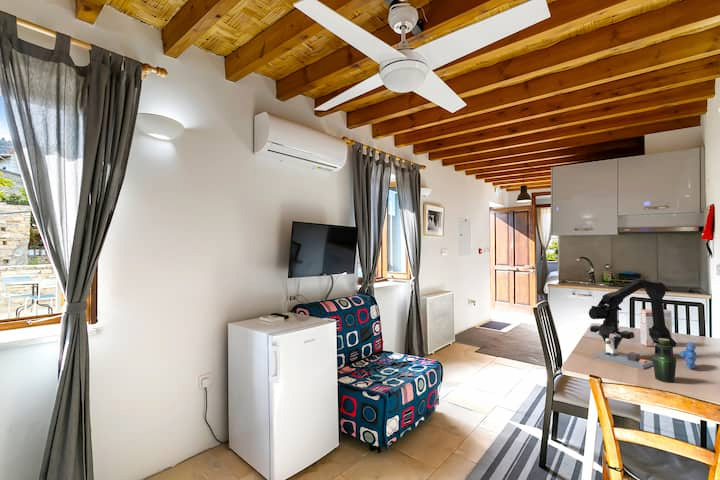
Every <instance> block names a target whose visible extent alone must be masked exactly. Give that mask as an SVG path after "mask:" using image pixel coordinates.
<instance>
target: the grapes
mask: <svg viewBox="0 0 720 480" xmlns="http://www.w3.org/2000/svg"><path fill="white" fill-rule="evenodd" d="M696 348H697V347H696V345H695V344H694V343H693V342H688V343H687V344H686V347H685V350H682V351H680V352H679V353H678V355H679V356H680V357H681V358H684V359H685V362H686V364H685V365H686V366H687V368H688V369H691V370H692V369H694V368H696V367H697V364H696V361H697V358H698V357H699V356H698V354H697V353H696V351H695V350H696Z"/></svg>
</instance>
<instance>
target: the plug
mask: <svg viewBox="0 0 720 480" xmlns="http://www.w3.org/2000/svg"><path fill="white" fill-rule="evenodd" d="M618 347H619V346H618ZM618 347H617V349H615V339H614V337H611V336H609V338H606V344H605V350H606V352H608V353H613V354H614V353H619V352H618Z"/></svg>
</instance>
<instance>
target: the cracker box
mask: <svg viewBox="0 0 720 480" xmlns="http://www.w3.org/2000/svg"><path fill="white" fill-rule="evenodd" d="M663 309H664V308H663ZM664 318H665V326H666V327H667V329H668V330H669V331H670V335H671V338H672V339H673V325H672V324H673V323H672V322H673V321H672V320H673V319H672V310H669V309H664ZM652 326H653V318H652V309H650V308H649V309H639V333H640V334H639V337H640V345H641V346H645V347H649V348H651V347H653V348H655V346H656V343H654V342H653V340H652V338H651V337H650V336H649V328H652Z"/></svg>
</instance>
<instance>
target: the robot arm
mask: <svg viewBox="0 0 720 480" xmlns="http://www.w3.org/2000/svg"><path fill="white" fill-rule="evenodd" d="M641 289H645V293H646V294H647V296H648V298H649V300H650V307H651V309H652V318H653V326H652V328H649V336H650V337H651V338H652V340H653V342H654V343H656V344H657V343H659V338H664V339H669V340H670V341H669V344H670V345H672V347H673V349H670V350H669V353H668V354H670V355H671V356H673V357H674V358H675V355H674V348H676V346H677V344H678V343H677V342H676V340H675V339H673V337H672V338H671V335H670V331H669V330H668V329H667V327H666V326H665V318H664V299H663V298H664V297H665V295H666V291H667V290H666V289H667V288H666V284H664V283H663V282H661V281H660V282H658V281H652V280H651V281H650V280H649V281H648V280H645V279H641V278H636V279H634V280H633V281H632V282H629V283H628V284H626V285H625V286H623V287H621V288H620V289H617V290H616V291H611V292H608V293H605V294H604V295H602V298H601V300H600V301H599V302H598V304H597V305H591V307H590V309H589V310H588V316H589V317H590V319H592V320H603V321H602V324H600V325H596V324H595V325H591V326H590V328H589V332H591V333H597V332H598V335H599V336H601V338H602V339H603V342H604V343H605V344H604V345H606V338H610V335H615V336H613V338H614V339H615V349H617V347H619V345H620V343H621V342H622V340H623V339H626V340H631V339H634V338H635V333H634V332H633V331H628V330H623V331H620V328H619V323H620V320H619V311H622V310H623V309H622V308H621V307H620V304H622V303H623V302H624V299H626V298H627V297H629V296H631V295H632V294H634V293H636V292H637V291H640V290H641ZM657 353H660V351H659V348H658V347H656V346H655V347H654V354H657Z"/></svg>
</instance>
